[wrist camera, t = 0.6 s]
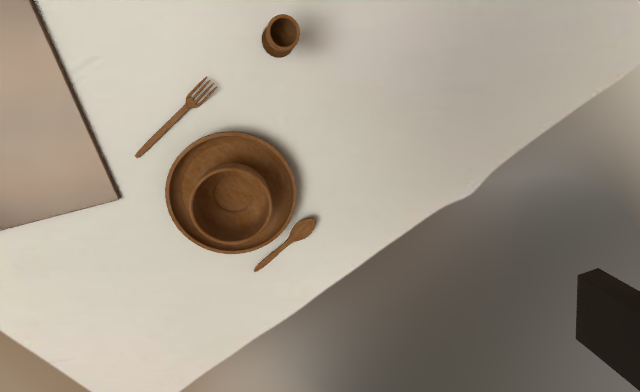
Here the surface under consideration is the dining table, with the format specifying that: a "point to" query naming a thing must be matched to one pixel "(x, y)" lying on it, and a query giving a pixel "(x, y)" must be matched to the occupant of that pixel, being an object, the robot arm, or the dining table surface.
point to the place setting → (235, 178)
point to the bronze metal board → (42, 128)
